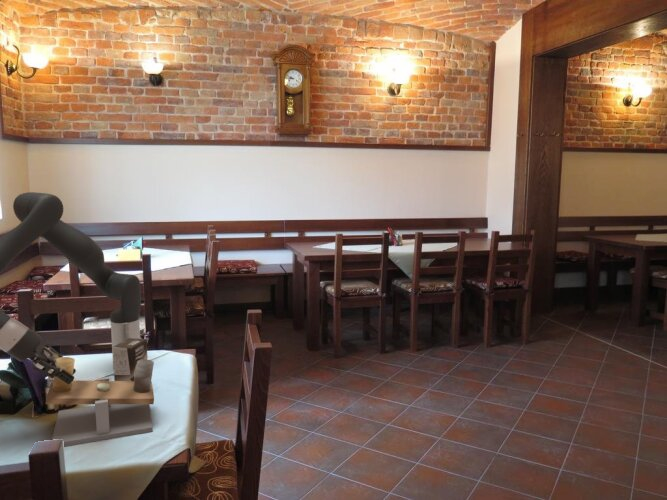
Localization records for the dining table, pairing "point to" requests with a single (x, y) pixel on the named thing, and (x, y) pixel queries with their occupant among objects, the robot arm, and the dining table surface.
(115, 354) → the coffee box
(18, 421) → the dining table surface
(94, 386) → the plate
